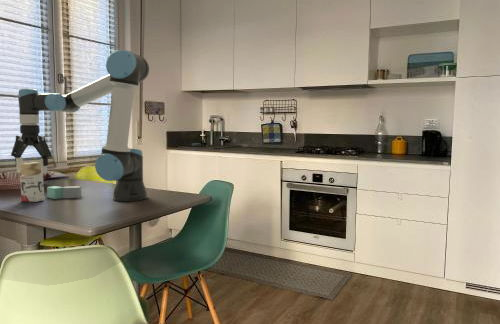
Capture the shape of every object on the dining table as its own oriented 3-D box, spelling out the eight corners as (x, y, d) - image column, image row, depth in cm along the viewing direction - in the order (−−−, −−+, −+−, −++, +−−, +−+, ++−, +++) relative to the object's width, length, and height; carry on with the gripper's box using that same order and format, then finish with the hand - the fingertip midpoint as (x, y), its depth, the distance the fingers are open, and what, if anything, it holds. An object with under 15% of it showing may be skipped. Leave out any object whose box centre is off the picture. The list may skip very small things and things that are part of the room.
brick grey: (81, 196, 191) (81, 186, 190) (79, 198, 187) (78, 187, 186) (66, 196, 190) (65, 186, 189) (63, 198, 186) (62, 187, 185)
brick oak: (34, 173, 182) (33, 162, 181) (41, 173, 180) (40, 162, 180) (21, 175, 175) (20, 163, 174) (28, 175, 174) (27, 164, 173)
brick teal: (47, 197, 188) (47, 187, 187) (56, 196, 191) (55, 186, 191) (55, 199, 184) (54, 188, 183) (63, 197, 187) (63, 187, 186)
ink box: (20, 201, 177) (18, 175, 176) (29, 199, 182) (27, 173, 181) (37, 201, 175) (35, 175, 174) (45, 199, 180) (43, 173, 179)
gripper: (59, 124, 176) (61, 172, 178) (14, 124, 183) (17, 170, 185) (46, 124, 168) (48, 174, 170) (0, 124, 175) (2, 172, 177)
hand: (32, 172), depth 178 cm, fingers open, 13 cm apart
